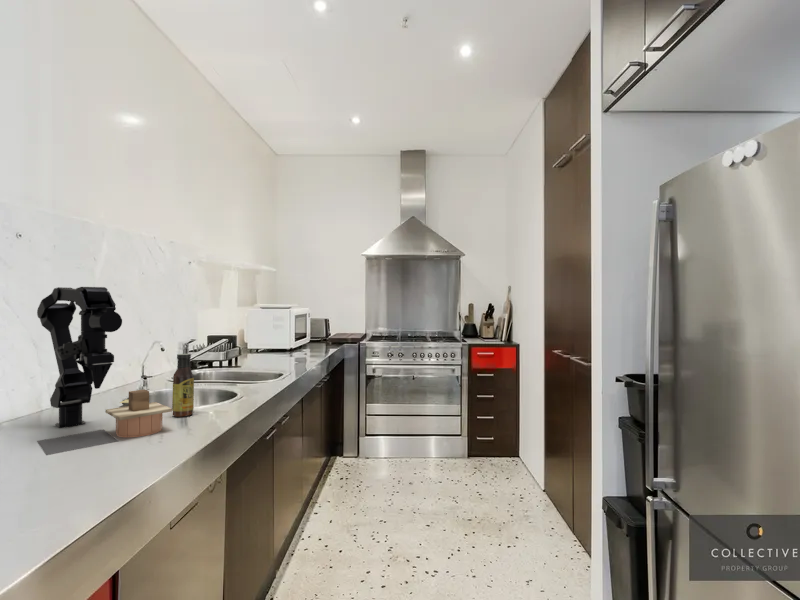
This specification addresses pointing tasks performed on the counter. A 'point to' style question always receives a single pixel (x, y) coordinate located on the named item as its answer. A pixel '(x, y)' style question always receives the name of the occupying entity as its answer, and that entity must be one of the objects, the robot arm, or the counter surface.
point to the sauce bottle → (183, 387)
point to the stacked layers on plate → (125, 402)
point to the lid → (138, 407)
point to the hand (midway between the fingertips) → (93, 386)
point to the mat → (76, 441)
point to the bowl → (139, 426)
